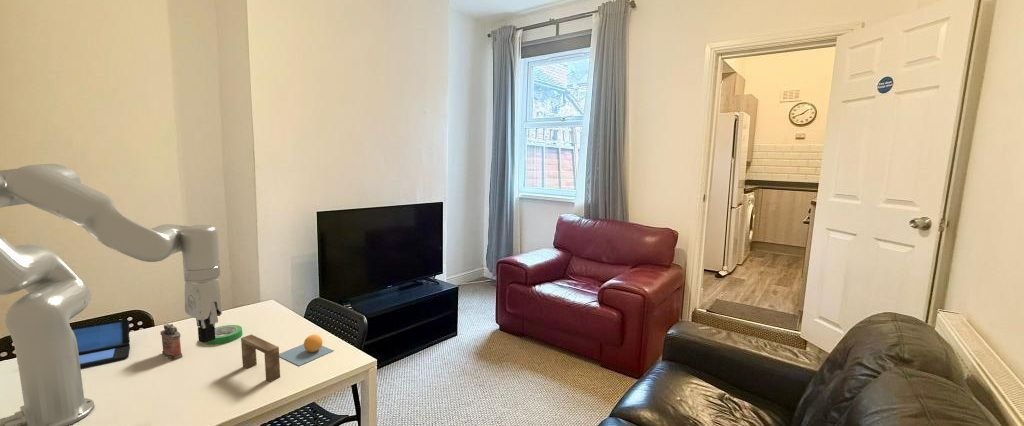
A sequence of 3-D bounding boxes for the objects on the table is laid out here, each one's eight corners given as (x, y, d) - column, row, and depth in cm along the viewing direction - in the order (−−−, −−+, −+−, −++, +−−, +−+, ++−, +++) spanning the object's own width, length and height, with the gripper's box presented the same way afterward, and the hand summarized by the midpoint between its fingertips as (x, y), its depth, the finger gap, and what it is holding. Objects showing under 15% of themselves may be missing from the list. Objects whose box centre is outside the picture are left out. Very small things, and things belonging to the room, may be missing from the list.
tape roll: (207, 334, 147) (207, 327, 147) (244, 329, 152) (244, 322, 151) (200, 347, 137) (199, 340, 137) (239, 342, 142) (239, 335, 141)
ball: (321, 355, 136) (307, 353, 132) (311, 350, 139) (297, 348, 135) (328, 338, 138) (314, 335, 134) (318, 334, 141) (304, 331, 136)
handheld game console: (54, 375, 118) (50, 345, 117) (62, 357, 129) (58, 328, 127) (129, 359, 128) (125, 331, 127) (131, 343, 138) (128, 317, 137)
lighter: (159, 354, 132) (156, 324, 130) (172, 350, 135) (169, 320, 133) (172, 361, 128) (169, 330, 126) (185, 356, 131) (182, 326, 129)
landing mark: (298, 366, 127) (298, 365, 127) (276, 355, 133) (276, 354, 133) (333, 351, 137) (333, 350, 137) (311, 341, 143) (311, 340, 143)
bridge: (269, 381, 119) (268, 351, 117) (242, 366, 126) (240, 337, 125) (280, 376, 121) (278, 347, 120) (253, 362, 128) (251, 334, 127)
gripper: (172, 271, 108) (177, 338, 111) (199, 282, 101) (204, 353, 103) (205, 265, 115) (209, 328, 117) (233, 275, 107) (237, 342, 110)
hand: (207, 340), depth 110 cm, fingers closed
